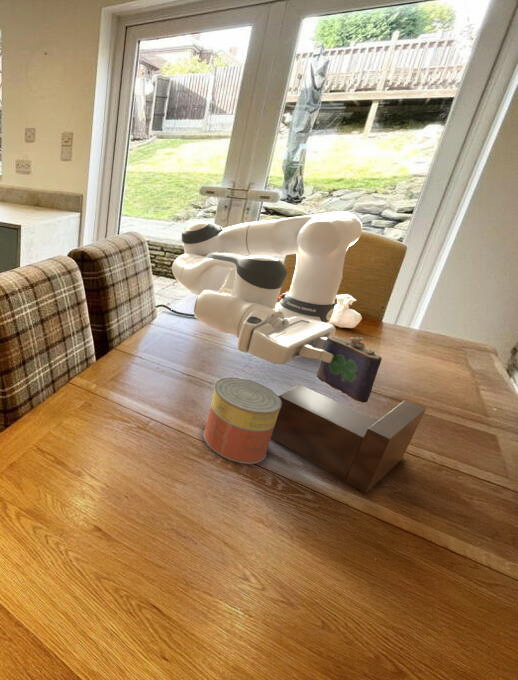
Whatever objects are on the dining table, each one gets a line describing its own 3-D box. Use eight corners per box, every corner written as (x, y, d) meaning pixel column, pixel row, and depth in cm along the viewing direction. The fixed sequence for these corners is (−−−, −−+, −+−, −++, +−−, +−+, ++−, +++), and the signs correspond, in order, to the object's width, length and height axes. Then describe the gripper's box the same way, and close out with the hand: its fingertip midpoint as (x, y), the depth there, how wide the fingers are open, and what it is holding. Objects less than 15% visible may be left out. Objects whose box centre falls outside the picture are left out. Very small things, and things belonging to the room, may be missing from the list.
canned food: (258, 431, 83) (273, 383, 79) (272, 470, 74) (289, 418, 69) (201, 419, 87) (211, 373, 82) (206, 455, 77) (219, 404, 72)
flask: (312, 376, 78) (326, 327, 74) (324, 374, 78) (339, 325, 75) (360, 404, 70) (379, 350, 66) (373, 401, 70) (393, 348, 66)
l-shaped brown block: (265, 435, 82) (280, 387, 78) (305, 411, 90) (320, 365, 85) (365, 493, 69) (390, 439, 64) (401, 459, 76) (426, 408, 72)
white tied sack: (356, 335, 130) (371, 305, 130) (355, 327, 125) (371, 296, 125) (313, 323, 139) (327, 295, 139) (311, 315, 134) (325, 286, 134)
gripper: (286, 330, 91) (358, 356, 80) (232, 351, 81) (306, 385, 70) (293, 304, 88) (369, 328, 77) (239, 324, 79) (316, 354, 68)
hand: (338, 355), depth 74 cm, fingers closed on flask, 3 cm apart
